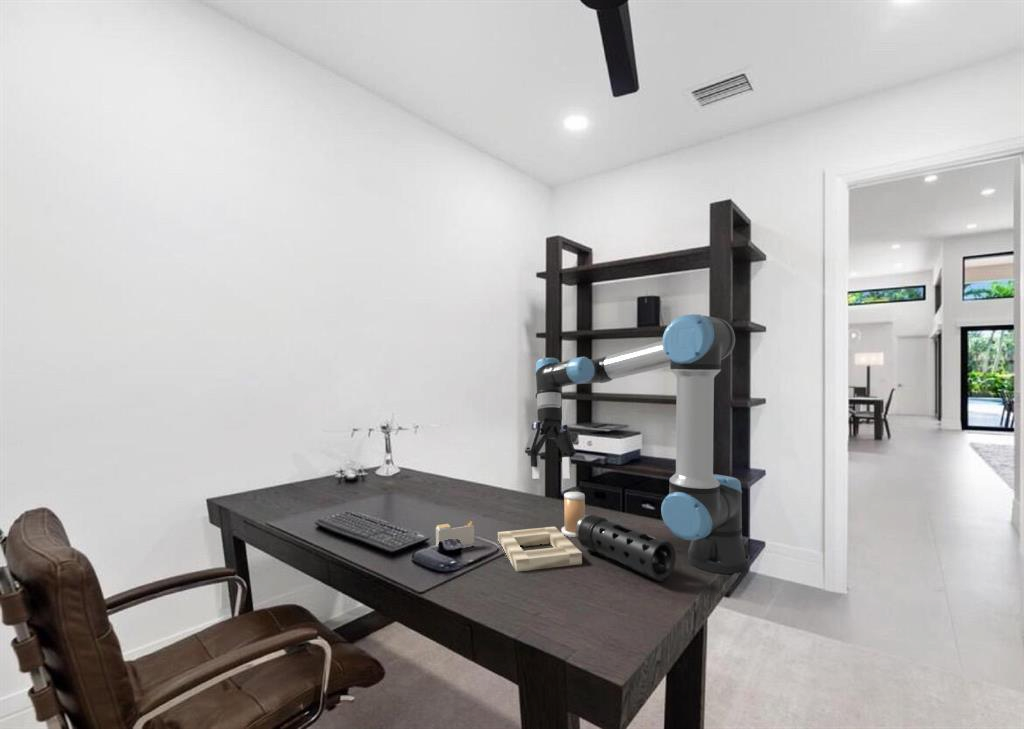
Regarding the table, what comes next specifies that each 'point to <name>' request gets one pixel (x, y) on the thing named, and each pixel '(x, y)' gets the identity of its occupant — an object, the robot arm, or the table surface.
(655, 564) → the muzzle brake
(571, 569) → the table surface
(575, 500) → the orange white flanged cylinder
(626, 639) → the table surface
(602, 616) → the table surface
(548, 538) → the square wooden frame
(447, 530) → the model
